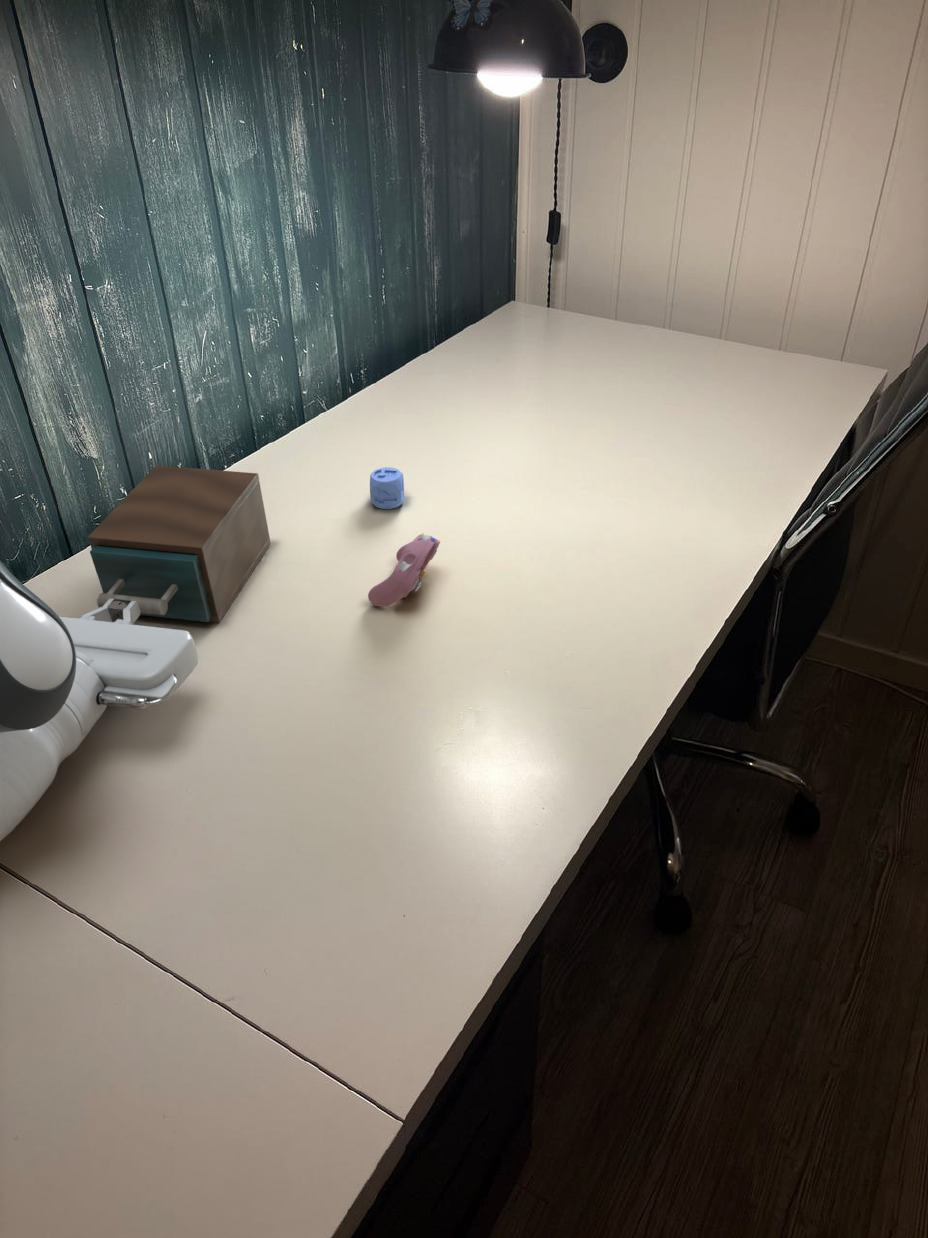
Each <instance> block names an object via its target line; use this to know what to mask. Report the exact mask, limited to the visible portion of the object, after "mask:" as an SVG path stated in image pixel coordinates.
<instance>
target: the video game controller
mask: <svg viewBox="0 0 928 1238" xmlns="http://www.w3.org/2000/svg"><path fill="white" fill-rule="evenodd" d="M440 544H441V540H439V539H437V538H435V537H433V536H431V535H426V534H424V532H422V533H421V534H419V535H417V536H416V537H415V538H414V539H413V540H412V541H410V542H408V543H406V544H404V545H403V546H401V547H400V548H399V549H398V550H397V552H396V557H395V558H396V560H397V561H398V562H396V563H397V564H396V565H395V567H394V569H393V571H392V572H391V574H390V575H389V576H388V577H387V578H385V579H384V580H383V581H381V582H380V583H378V584H376V585H375V586H373V587H372V588H371V589H369V591H368V595H367V597H368V598H367V599H368V601H369V603H371V604H372V605H373V606H378V607H384V606H390V605H393V604H394V603H397V602H399V601H400V600H401V599H405V598H407V597H408V596H409V594H410V593H411V592H412V591H413V590H414V592H418V591H419V590H420V588H421V587H422V581H419V579H420V578H421V579H423V578H424V577H425V576H426V571H425V569H426V568H427V566H428V564H429V563H430V561H433V559H434V557H435V556H436V553H437V552H438V548H439V545H440Z"/></svg>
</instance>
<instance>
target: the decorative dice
mask: <svg viewBox="0 0 928 1238" xmlns="http://www.w3.org/2000/svg"><path fill="white" fill-rule="evenodd" d="M369 496H370V503H371V504H372V505H374V507H376V508H378V509H382V510H393V509H396V508H398V507H401V505H403V503H404V502H405V479H404V473H403V472H402V471H401V470H400V469H397V468H395V467H391V466H386V467H380V468H376V469H375V470H373V471H372V472H371V473H370V476H369Z"/></svg>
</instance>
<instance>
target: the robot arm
mask: <svg viewBox="0 0 928 1238" xmlns="http://www.w3.org/2000/svg"><path fill="white" fill-rule="evenodd" d="M140 612H141V610H140V607H139V603H138V602H137V601H128V600H120V599H112V598H110V599H109V600H108V601H107V602H106V603H105V604H104V606H103V607H100V608H99V607H98V608H95V609H93V610H91V611H89V612H86V613H84V614H82V615H81V616H80V618H79V617H69V616H59V615H58V614H57V613H56V612H55V611H54V610H53V609H52V608H51V607H50V606H49V605H48V604H47V603H46V602H45V601H44V600H42V599H41V598H40V597H39V596H38V595H36V594H35V593H34V592H32V590H30V589H29V588H28V587H27V586H26V585H24V584H23V583H22V582H21V581H20V580H19V579H18V578H16V576H15V575H14V574H13V573H12V572H11V571H10V570H9V569H8V567H6V565H4V563H3V562H2V561H1V560H0V842H1V841H3V840H4V839H5V838H6V837H7V836H8V835H9V834H10V833H11V832H12V831H13V830H14V829H16V828H17V826H18V825H19V824H20V823H21V822H22V821H23V820H24V819H25V817H26V816H27V815H28V814H29V813H30V812H31V810H33V808H34V807H35V806H36V804H37V803H38V802H39V800H41V799H42V797H43V796H44V794H45V793H46V791H47V790H48V789H49V787H50V786H51V785H52V783H53V782H54V780H55V779H56V775H57V773H58V769H59V766H60V765H61V763H62V762H63V761H64V760H65V759H66V758H68V757H69V756H71V755H72V754H73V753H74V752H75V751H76V750H78V748H79V746H81V744H82V742H83V741H84V739H85V738H87V736H88V734H89V733H90V731H91V730H92V729H93V727H94V726H95V724H96V723H97V722H98V720H99V719H100V718H101V717H102V715H103V714H104V712H105V711H106V708H107V706H113V707H128V708H132V709H136V710H147V709H148V708H149V707H150V706H156V705H158V704H164V703H167V701H168V700H169V699H170V698H171V697H172V696H173V694H174V693H175V692H176V691H177V690H179V688H180V687H181V686H182V684H183V683H184V682H186V680H187V679H188V678H189V677H190V676H191V674H192V673H193V672H194V670H196V668H197V666H198V663H199V655H198V650H197V649H198V648H197V647H196V643H195V640H194V638H193V636H192V634H191V633H190V632H189V631H188V630H185V629H176V628H167V627H157V626H149V625H139V624H135V623H136V621H137V620H138V619H139V617H140V616H141V615H140Z"/></svg>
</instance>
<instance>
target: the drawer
mask: <svg viewBox="0 0 928 1238" xmlns="http://www.w3.org/2000/svg"><path fill="white" fill-rule="evenodd" d="M89 554H90V557H91V560H92V563H93V566H94V569H95V572H96V576H97V578H98V582H99V584H100V587H101V590H102V592H101V593H99V594H98V596H97V599H96V605H97V607H98V608H100V607H103V606H104V604H105V603H106V602H107V601H108V600H109V599H110V598H112V599H120V600H128V601H137V602H138V603H139V607H140V610H141V612H140V616H146V617H156V618H165V619H175V620H184V621H192V622H193V621H194V622H202V623H210V622H209V620H210V619H211V617H212V612H211V608H210V604H209V599H208V595H207V591H206V587H205V583H204V579H203V575H202V570H201V566H200V562H199V558H198V555H196V554H188V553H178V552H167V551H157V550H146V549H136V548H125V547H115V546H111V547H105V546H94V548H93V549H92V548H91V549H90V550H89Z"/></svg>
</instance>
